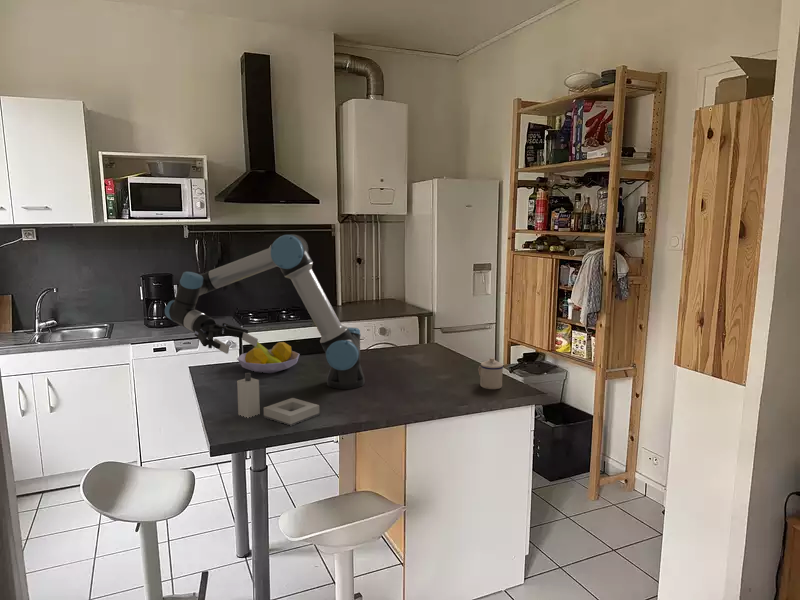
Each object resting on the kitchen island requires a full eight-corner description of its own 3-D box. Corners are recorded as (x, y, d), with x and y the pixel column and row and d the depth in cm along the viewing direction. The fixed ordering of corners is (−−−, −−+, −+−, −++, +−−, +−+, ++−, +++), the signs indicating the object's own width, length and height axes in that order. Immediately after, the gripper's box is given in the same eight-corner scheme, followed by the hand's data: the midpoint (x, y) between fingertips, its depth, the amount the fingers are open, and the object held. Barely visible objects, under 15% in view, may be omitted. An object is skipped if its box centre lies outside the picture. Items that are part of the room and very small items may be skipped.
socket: (255, 415, 185) (255, 405, 185) (284, 404, 196) (284, 395, 195) (290, 426, 175) (290, 416, 175) (319, 415, 186) (319, 405, 185)
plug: (238, 415, 185) (236, 373, 183) (250, 410, 189) (249, 370, 187) (247, 418, 182) (246, 376, 180) (259, 414, 186) (258, 373, 184)
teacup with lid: (507, 387, 219) (508, 359, 217) (490, 391, 214) (491, 362, 212) (486, 379, 229) (487, 352, 227) (470, 383, 224) (471, 355, 222)
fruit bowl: (305, 374, 235) (305, 348, 233) (239, 380, 225) (238, 353, 224) (294, 358, 261) (293, 335, 259) (234, 363, 251) (234, 339, 250)
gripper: (224, 327, 210) (265, 349, 201) (169, 339, 188) (213, 363, 179) (227, 309, 208) (269, 330, 199) (172, 318, 186) (217, 342, 177)
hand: (242, 346), depth 189 cm, fingers open, 13 cm apart
